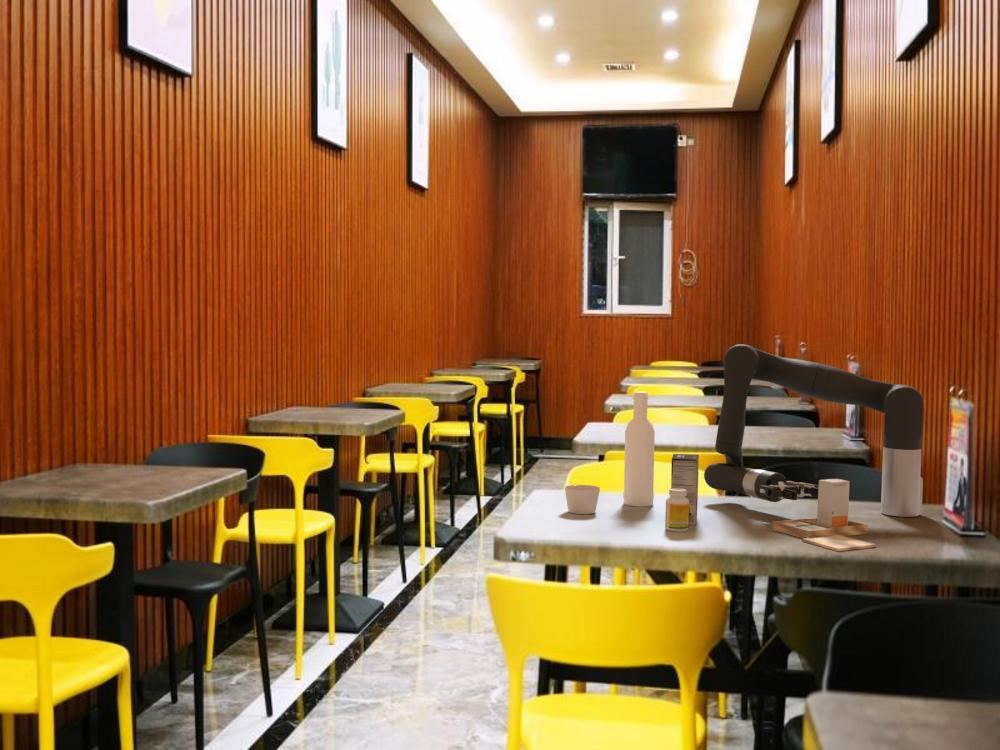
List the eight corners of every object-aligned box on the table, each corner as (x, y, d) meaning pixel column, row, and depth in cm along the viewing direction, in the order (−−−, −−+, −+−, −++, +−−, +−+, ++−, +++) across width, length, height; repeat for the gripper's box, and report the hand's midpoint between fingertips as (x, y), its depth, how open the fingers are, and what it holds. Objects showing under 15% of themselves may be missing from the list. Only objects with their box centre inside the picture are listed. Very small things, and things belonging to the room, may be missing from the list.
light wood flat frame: (829, 524, 251) (829, 516, 251) (867, 533, 241) (867, 525, 240) (772, 529, 243) (772, 521, 243) (808, 539, 233) (809, 531, 232)
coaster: (838, 537, 236) (838, 534, 236) (875, 547, 226) (875, 544, 226) (801, 541, 231) (802, 538, 231) (838, 551, 221) (838, 548, 221)
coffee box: (671, 517, 258) (672, 453, 257) (697, 518, 256) (698, 454, 256) (669, 524, 249) (671, 457, 248) (696, 525, 247) (698, 458, 247)
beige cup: (606, 513, 262) (607, 488, 261) (579, 516, 257) (579, 491, 256) (584, 507, 269) (584, 483, 269) (557, 511, 264) (557, 486, 264)
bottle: (657, 503, 277) (659, 391, 276) (648, 507, 270) (650, 393, 268) (628, 500, 281) (630, 390, 279) (619, 505, 273) (621, 392, 272)
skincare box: (829, 533, 240) (831, 482, 240) (816, 529, 244) (817, 479, 244) (848, 531, 243) (850, 480, 243) (835, 527, 247) (836, 478, 246)
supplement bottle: (660, 528, 243) (661, 488, 243) (679, 526, 245) (680, 486, 245) (674, 532, 238) (675, 491, 238) (693, 531, 241) (694, 490, 240)
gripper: (743, 472, 261) (787, 481, 247) (786, 469, 268) (832, 478, 253) (742, 501, 262) (786, 512, 247) (785, 497, 268) (831, 508, 254)
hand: (809, 494), depth 250 cm, fingers open, 8 cm apart
